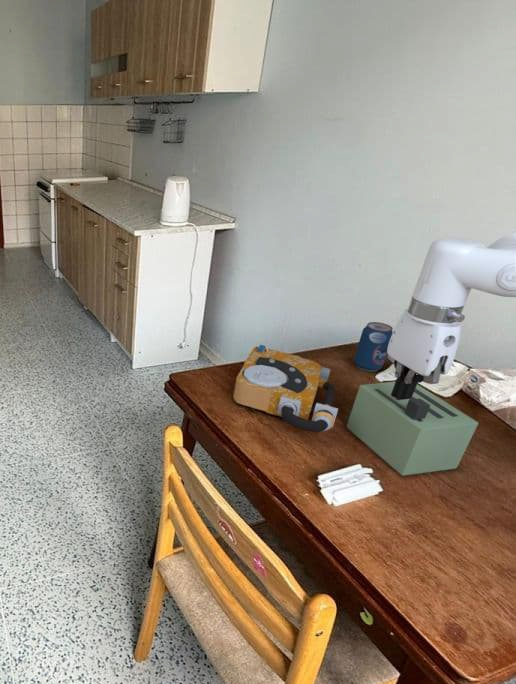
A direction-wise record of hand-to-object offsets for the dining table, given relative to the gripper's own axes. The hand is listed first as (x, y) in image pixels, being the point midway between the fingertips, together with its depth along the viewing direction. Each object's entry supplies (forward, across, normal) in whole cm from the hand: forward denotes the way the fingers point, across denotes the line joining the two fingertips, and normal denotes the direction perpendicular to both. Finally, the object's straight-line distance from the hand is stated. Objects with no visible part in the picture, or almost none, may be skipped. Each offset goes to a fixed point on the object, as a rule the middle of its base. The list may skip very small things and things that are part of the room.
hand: (400, 397), depth 92 cm
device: (+13, +20, +10) cm, 26 cm away
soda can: (+13, +32, -22) cm, 41 cm away
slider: (+2, -4, 0) cm, 4 cm away
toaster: (+13, 0, -4) cm, 13 cm away
